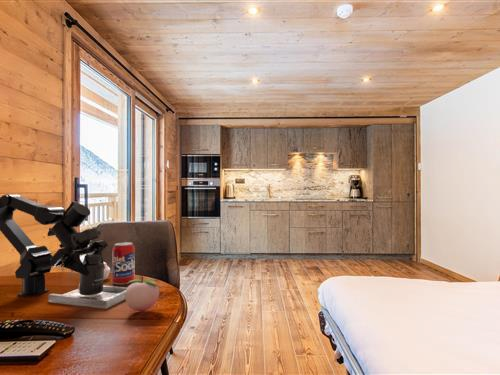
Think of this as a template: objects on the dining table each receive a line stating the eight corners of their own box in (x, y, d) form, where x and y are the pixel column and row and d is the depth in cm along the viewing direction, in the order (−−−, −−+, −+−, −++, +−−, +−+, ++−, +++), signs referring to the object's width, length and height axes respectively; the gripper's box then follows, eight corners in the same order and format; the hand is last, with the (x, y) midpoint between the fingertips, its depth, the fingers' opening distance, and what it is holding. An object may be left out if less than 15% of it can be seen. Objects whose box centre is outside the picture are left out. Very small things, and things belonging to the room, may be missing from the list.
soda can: (127, 278, 117) (127, 241, 117) (138, 282, 112) (138, 243, 113) (108, 283, 111) (108, 244, 111) (119, 287, 106) (119, 245, 106)
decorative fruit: (118, 318, 78) (118, 281, 79) (131, 307, 87) (131, 273, 87) (153, 318, 78) (153, 281, 79) (162, 306, 87) (162, 273, 87)
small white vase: (111, 280, 116) (111, 262, 116) (93, 282, 112) (93, 264, 113) (109, 276, 121) (109, 259, 121) (92, 278, 118) (92, 261, 118)
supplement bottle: (99, 295, 92) (101, 256, 92) (75, 296, 90) (77, 257, 91) (105, 289, 98) (106, 253, 99) (83, 290, 97) (84, 253, 98)
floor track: (48, 302, 92) (48, 294, 92) (81, 289, 103) (81, 283, 104) (106, 308, 86) (106, 300, 86) (134, 294, 97) (134, 288, 98)
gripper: (58, 222, 87) (88, 261, 84) (103, 217, 105) (129, 249, 102) (36, 247, 89) (65, 286, 86) (85, 238, 107) (110, 271, 104)
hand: (95, 271), depth 95 cm, fingers closed on supplement bottle, 6 cm apart
